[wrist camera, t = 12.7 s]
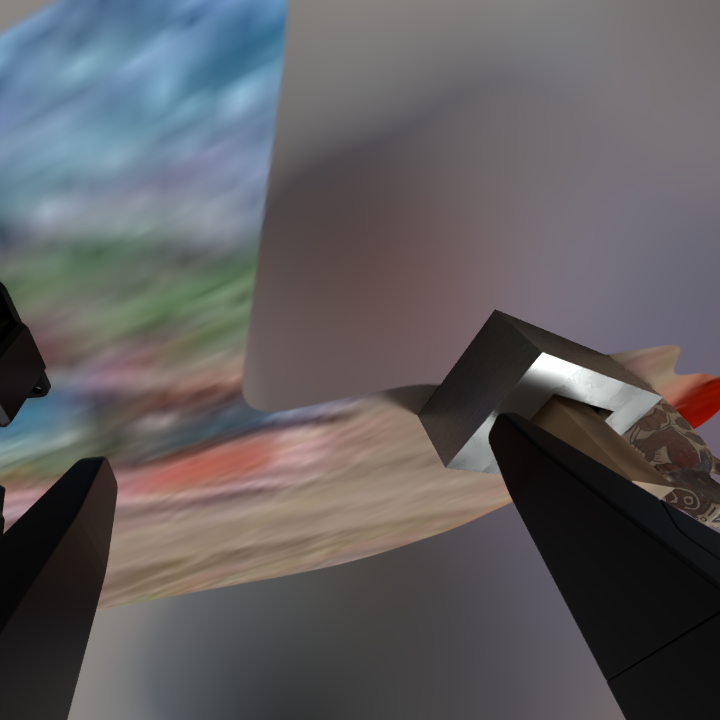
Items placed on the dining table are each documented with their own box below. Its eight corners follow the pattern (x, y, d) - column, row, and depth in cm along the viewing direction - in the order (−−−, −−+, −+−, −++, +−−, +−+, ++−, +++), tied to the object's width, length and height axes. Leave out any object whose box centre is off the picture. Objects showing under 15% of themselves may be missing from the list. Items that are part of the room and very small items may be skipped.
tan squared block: (482, 397, 30) (579, 524, 22) (514, 359, 28) (632, 480, 20) (522, 408, 32) (624, 526, 24) (554, 373, 31) (675, 487, 22)
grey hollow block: (417, 416, 29) (445, 468, 26) (495, 309, 25) (542, 352, 21) (533, 438, 36) (569, 482, 32) (611, 357, 31) (663, 397, 28)
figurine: (598, 403, 35) (727, 520, 26) (665, 379, 36) (814, 486, 27) (584, 448, 40) (689, 562, 31) (643, 426, 40) (764, 531, 31)
